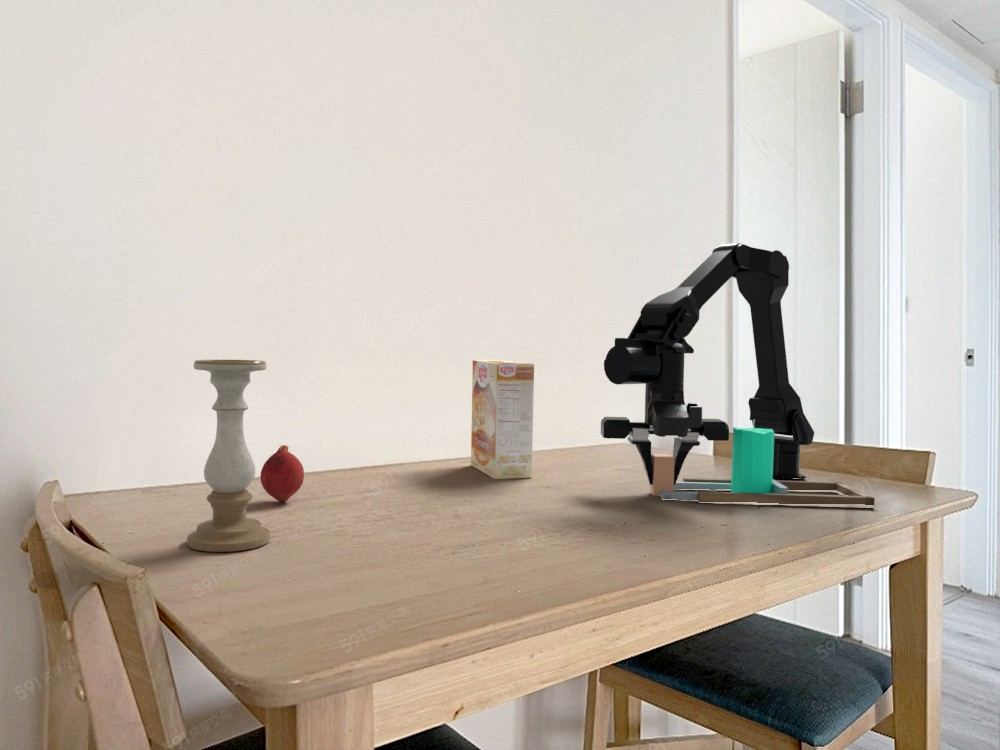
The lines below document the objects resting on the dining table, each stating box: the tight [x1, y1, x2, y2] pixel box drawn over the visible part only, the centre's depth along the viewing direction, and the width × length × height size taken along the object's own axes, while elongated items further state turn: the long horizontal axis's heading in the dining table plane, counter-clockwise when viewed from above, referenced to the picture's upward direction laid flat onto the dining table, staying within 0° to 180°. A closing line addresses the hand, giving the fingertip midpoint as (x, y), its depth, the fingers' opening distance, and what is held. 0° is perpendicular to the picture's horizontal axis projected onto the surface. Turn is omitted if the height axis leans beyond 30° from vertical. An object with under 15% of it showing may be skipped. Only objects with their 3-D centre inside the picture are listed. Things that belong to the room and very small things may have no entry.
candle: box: [730, 419, 775, 493], centre depth 122 cm, size 6×6×12 cm
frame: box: [650, 453, 789, 500], centre depth 122 cm, size 10×19×6 cm, turn 88°
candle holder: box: [186, 359, 271, 553], centre depth 89 cm, size 9×9×20 cm
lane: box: [682, 477, 875, 506], centre depth 122 cm, size 13×25×2 cm, turn 88°
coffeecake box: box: [470, 359, 535, 480], centre depth 140 cm, size 15×7×20 cm, turn 17°
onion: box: [260, 444, 305, 503], centre depth 111 cm, size 6×6×8 cm
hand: (661, 484), depth 123 cm, fingers closed on frame, 3 cm apart
